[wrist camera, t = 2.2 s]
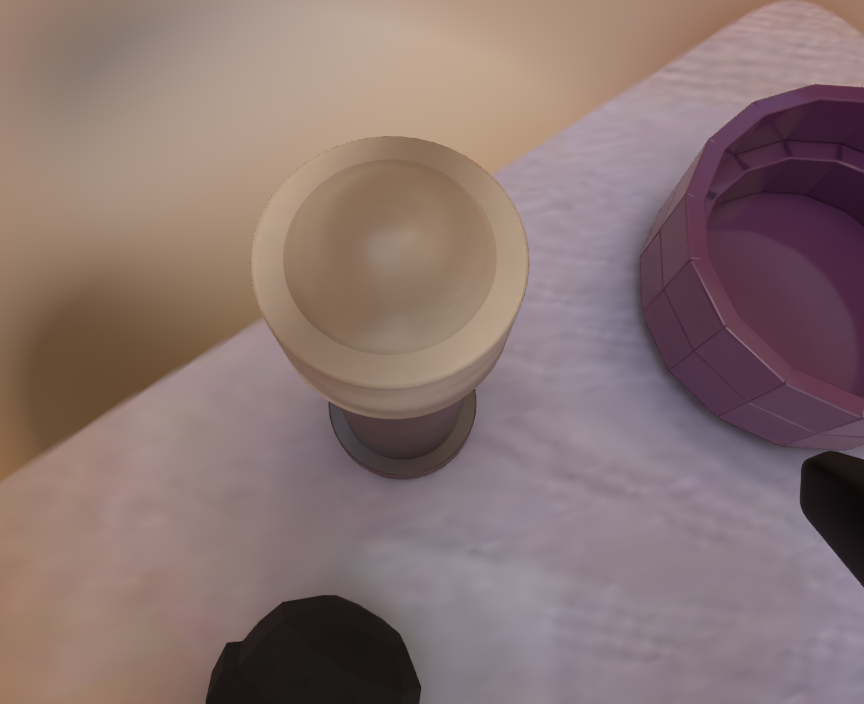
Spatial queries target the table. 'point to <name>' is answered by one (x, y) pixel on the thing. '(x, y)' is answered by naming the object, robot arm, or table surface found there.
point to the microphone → (316, 659)
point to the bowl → (769, 270)
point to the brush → (392, 292)
